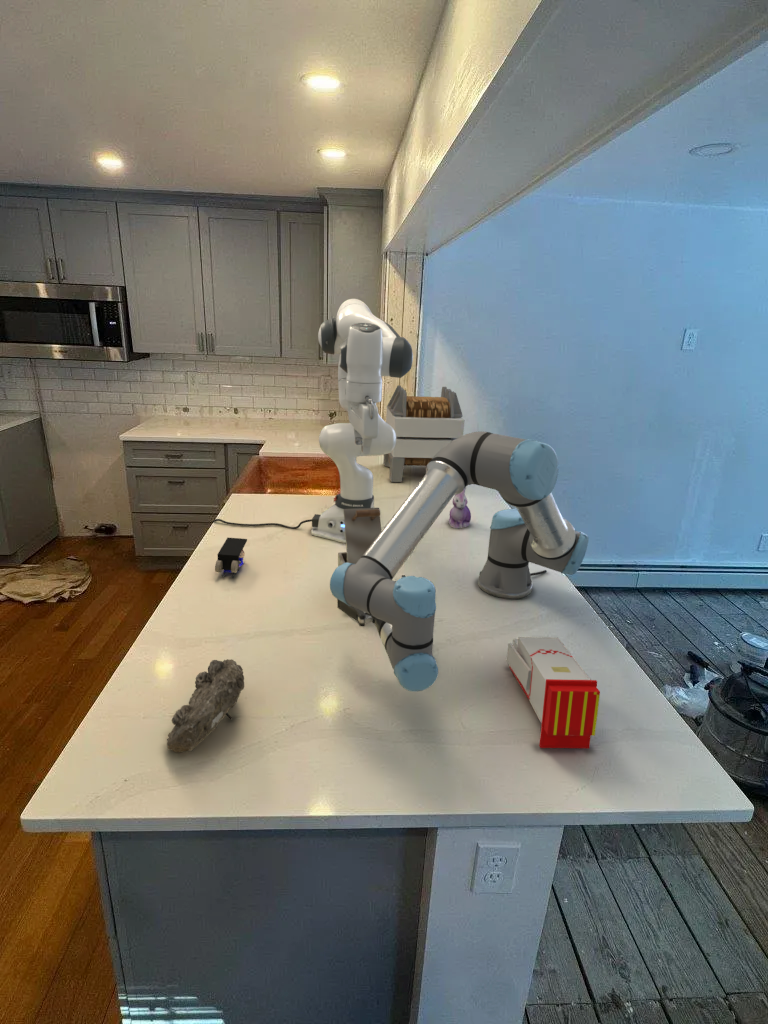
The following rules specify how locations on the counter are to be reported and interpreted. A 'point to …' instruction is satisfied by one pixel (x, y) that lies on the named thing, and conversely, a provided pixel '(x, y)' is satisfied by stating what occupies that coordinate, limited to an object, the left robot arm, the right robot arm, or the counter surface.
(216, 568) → the figurine character
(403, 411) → the transformer
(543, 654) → the toy
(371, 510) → the lid
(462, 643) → the counter surface
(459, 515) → the figurine
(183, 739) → the fossil
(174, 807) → the counter surface
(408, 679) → the right robot arm
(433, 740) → the counter surface
